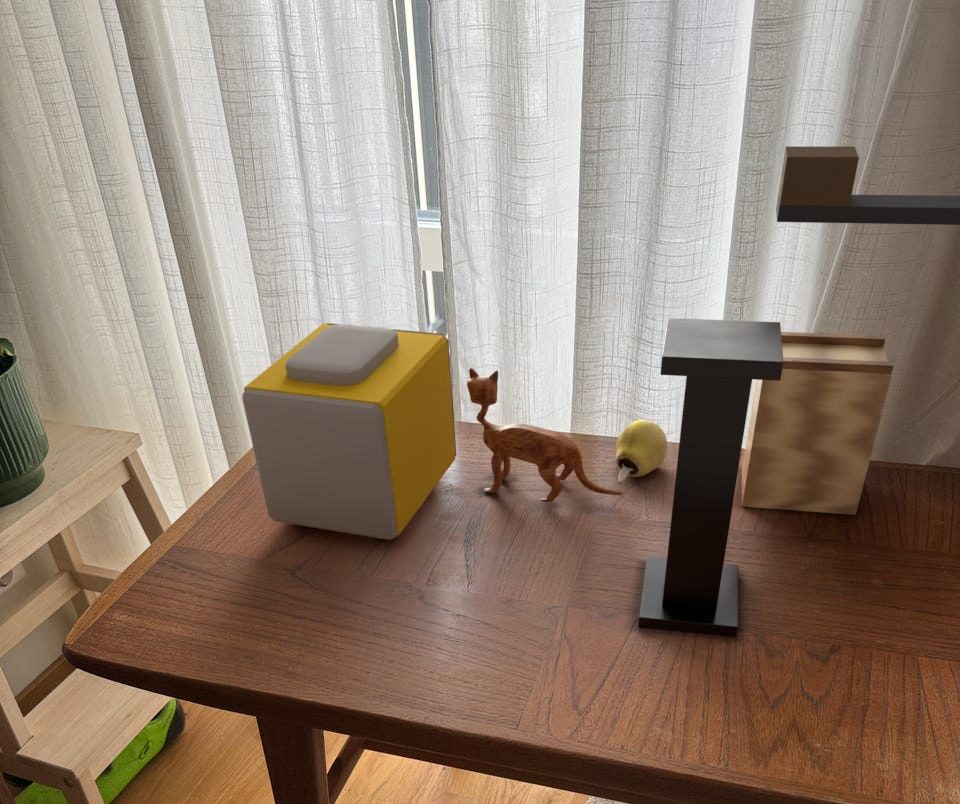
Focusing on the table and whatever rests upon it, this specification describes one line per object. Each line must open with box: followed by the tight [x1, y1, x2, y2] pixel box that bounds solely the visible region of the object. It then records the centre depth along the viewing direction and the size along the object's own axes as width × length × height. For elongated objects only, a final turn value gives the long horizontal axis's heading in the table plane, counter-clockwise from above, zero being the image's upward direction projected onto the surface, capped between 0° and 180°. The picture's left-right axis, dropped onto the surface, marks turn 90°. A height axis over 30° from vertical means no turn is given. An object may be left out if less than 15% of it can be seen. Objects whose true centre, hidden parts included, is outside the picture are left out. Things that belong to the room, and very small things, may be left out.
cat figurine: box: [466, 367, 624, 503], centre depth 101 cm, size 18×7×14 cm, turn 70°
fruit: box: [615, 419, 669, 485], centre depth 107 cm, size 6×6×10 cm
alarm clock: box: [241, 322, 457, 541], centre depth 100 cm, size 20×16×18 cm
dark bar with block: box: [775, 146, 960, 226], centre depth 81 cm, size 20×4×5 cm, turn 78°
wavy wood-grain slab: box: [741, 331, 894, 516], centre depth 98 cm, size 12×8×17 cm, turn 78°
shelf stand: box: [637, 317, 784, 638], centre depth 81 cm, size 9×10×26 cm
